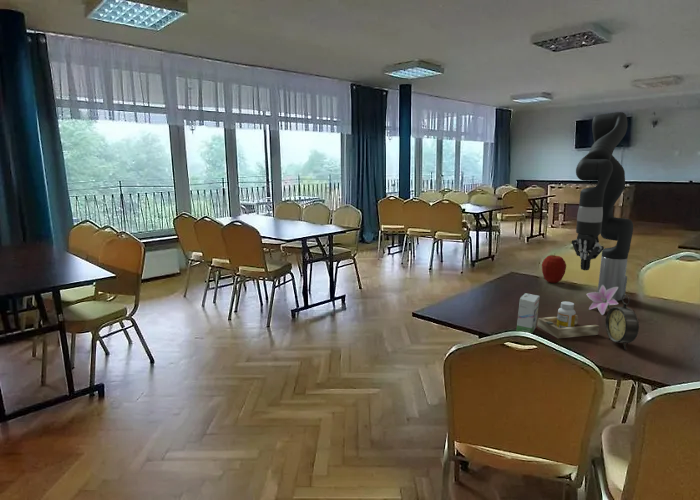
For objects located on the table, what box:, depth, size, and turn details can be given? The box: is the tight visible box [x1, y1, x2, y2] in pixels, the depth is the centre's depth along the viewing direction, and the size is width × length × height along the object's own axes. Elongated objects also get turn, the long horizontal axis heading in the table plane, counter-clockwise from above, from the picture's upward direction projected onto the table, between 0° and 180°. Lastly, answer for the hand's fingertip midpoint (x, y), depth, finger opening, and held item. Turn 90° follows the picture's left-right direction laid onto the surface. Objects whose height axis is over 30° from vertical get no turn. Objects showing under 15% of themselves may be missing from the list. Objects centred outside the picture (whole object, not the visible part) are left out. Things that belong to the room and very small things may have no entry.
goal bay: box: [536, 314, 600, 339], centre depth 156 cm, size 15×11×3 cm
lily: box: [586, 285, 619, 316], centre depth 175 cm, size 12×12×10 cm
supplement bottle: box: [556, 301, 577, 328], centre depth 155 cm, size 5×5×10 cm
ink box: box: [515, 292, 540, 334], centre depth 155 cm, size 9×5×12 cm, turn 148°
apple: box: [541, 254, 567, 284], centre depth 214 cm, size 10×10×14 cm
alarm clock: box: [604, 293, 640, 351], centre depth 143 cm, size 11×5×16 cm, turn 0°
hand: (584, 269), depth 159 cm, fingers closed
